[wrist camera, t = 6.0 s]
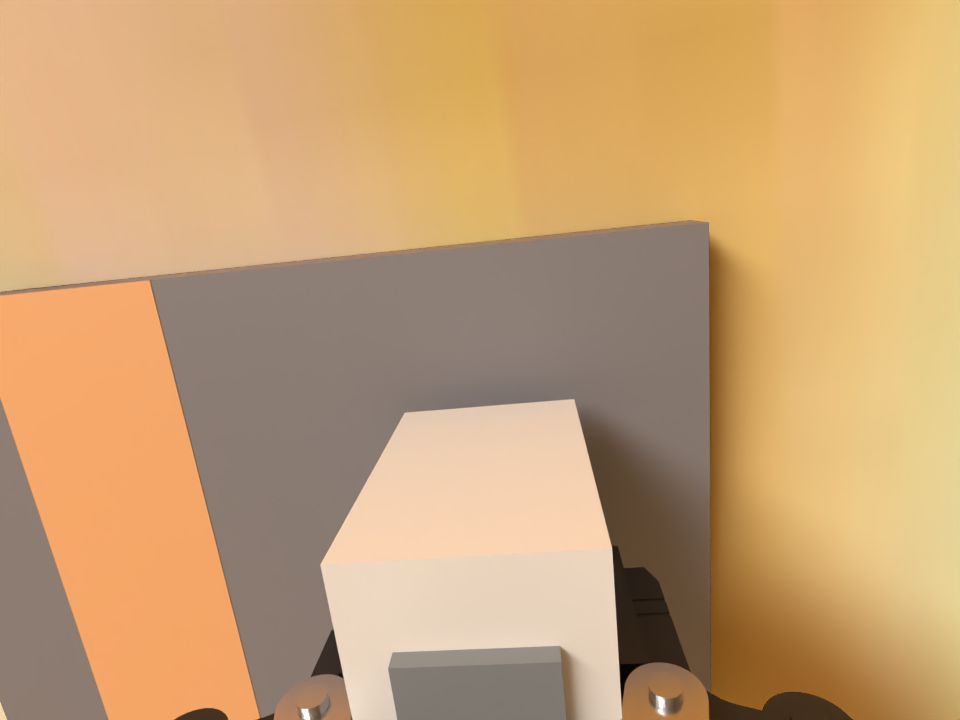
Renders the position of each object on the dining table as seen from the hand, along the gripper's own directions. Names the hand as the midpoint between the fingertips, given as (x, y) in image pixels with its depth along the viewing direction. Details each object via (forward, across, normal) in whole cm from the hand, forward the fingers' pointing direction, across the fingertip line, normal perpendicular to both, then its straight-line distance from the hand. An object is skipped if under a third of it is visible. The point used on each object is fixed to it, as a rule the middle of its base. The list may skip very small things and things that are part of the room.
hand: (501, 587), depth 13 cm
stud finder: (+1, 0, 0) cm, 1 cm away
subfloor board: (+4, +6, 0) cm, 7 cm away
